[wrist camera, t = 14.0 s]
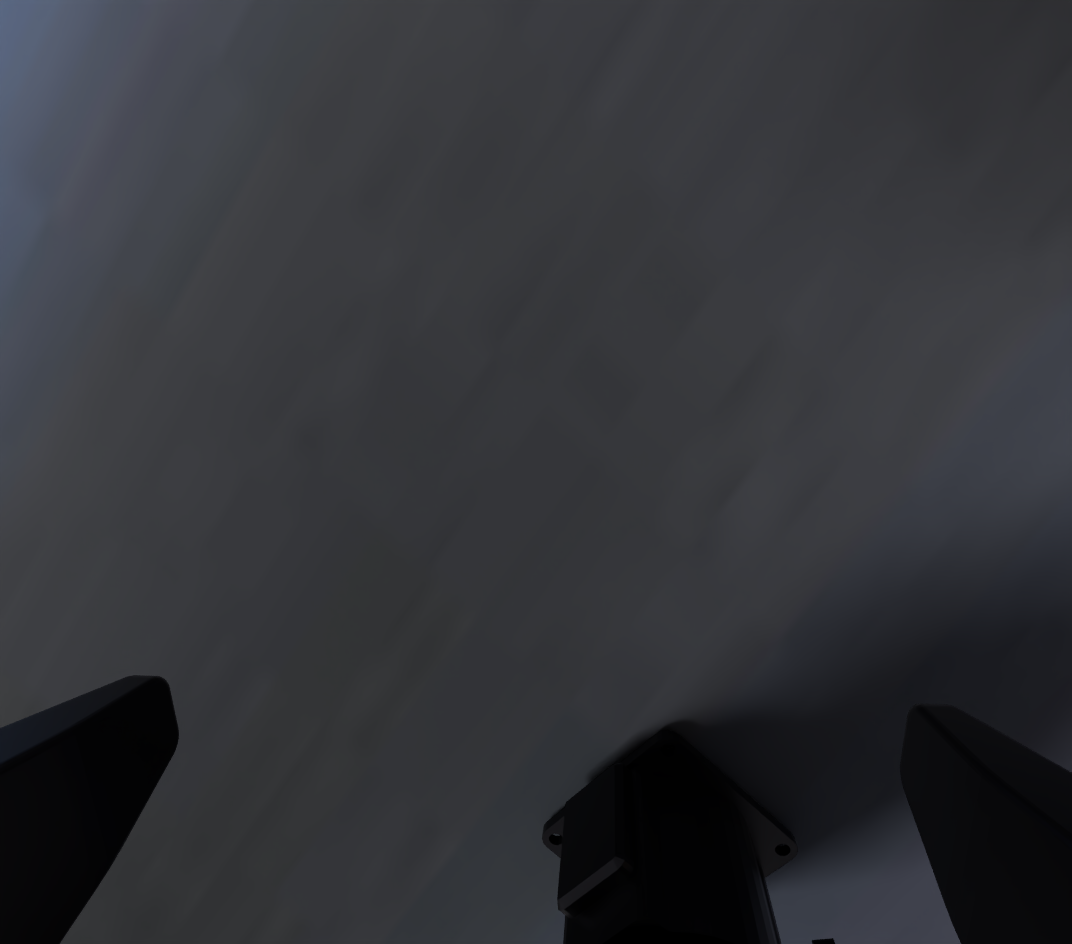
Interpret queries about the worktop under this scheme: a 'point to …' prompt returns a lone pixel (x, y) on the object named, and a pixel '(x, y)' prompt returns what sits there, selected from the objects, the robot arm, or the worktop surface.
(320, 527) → the worktop surface
